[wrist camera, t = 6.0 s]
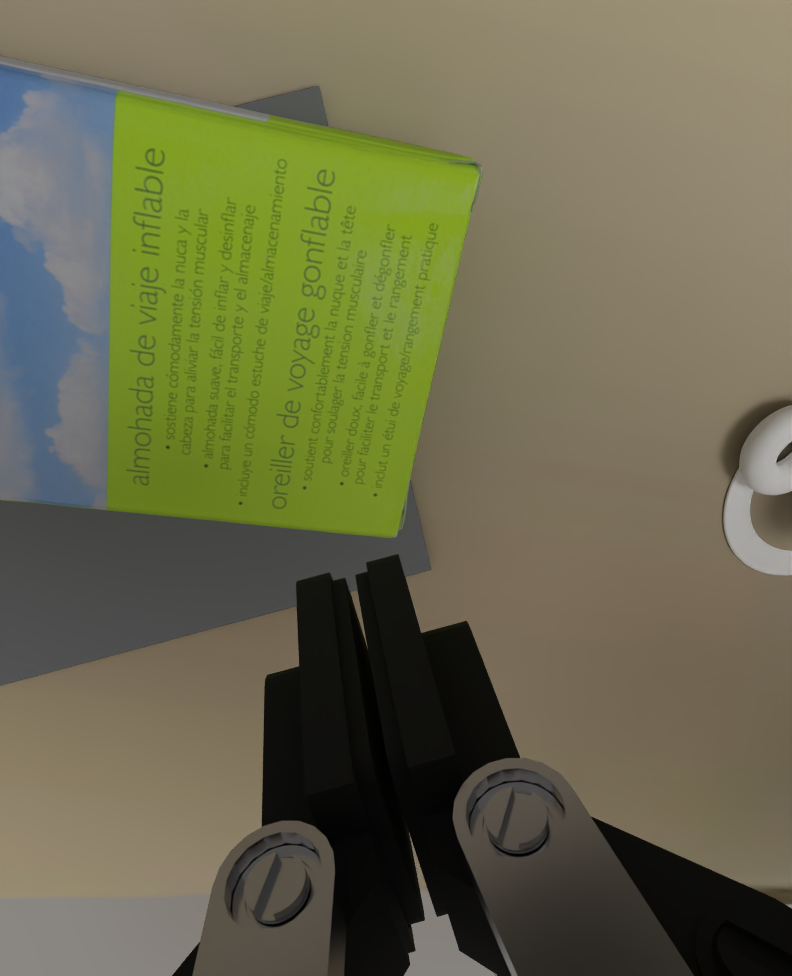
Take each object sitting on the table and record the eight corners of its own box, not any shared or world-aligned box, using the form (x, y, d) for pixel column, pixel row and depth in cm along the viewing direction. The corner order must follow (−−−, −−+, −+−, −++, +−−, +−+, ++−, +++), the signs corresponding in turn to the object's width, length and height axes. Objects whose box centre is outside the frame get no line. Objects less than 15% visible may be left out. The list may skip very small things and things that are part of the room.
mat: (318, 86, 18) (318, 85, 18) (429, 565, 26) (431, 569, 26) (-321, 242, 18) (-330, 244, 18) (-15, 684, 26) (-17, 690, 25)
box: (453, 154, 19) (-274, -7, 16) (493, 158, 16) (-441, -51, 12) (384, 488, 24) (-197, 424, 20) (403, 550, 20) (-302, 488, 16)
